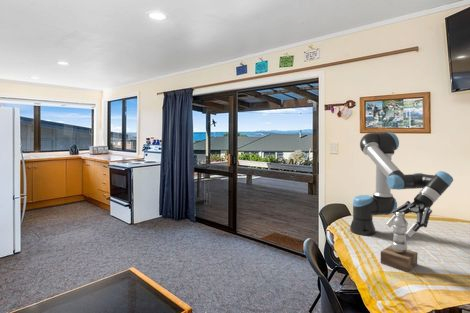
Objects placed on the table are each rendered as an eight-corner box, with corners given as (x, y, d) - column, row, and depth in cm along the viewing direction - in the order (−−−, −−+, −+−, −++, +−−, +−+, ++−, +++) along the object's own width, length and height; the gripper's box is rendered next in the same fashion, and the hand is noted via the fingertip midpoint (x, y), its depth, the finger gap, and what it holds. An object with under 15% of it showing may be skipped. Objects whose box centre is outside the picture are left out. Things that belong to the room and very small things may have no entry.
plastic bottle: (401, 248, 138) (402, 210, 136) (410, 254, 131) (411, 213, 130) (388, 249, 138) (389, 210, 136) (397, 255, 131) (398, 214, 129)
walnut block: (391, 256, 143) (391, 245, 143) (417, 264, 134) (417, 252, 133) (380, 263, 136) (380, 251, 136) (407, 272, 127) (407, 259, 126)
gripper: (454, 209, 122) (422, 245, 122) (411, 197, 147) (385, 226, 146) (443, 199, 121) (412, 234, 120) (402, 188, 146) (376, 217, 145)
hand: (397, 230), depth 133 cm, fingers open, 13 cm apart
